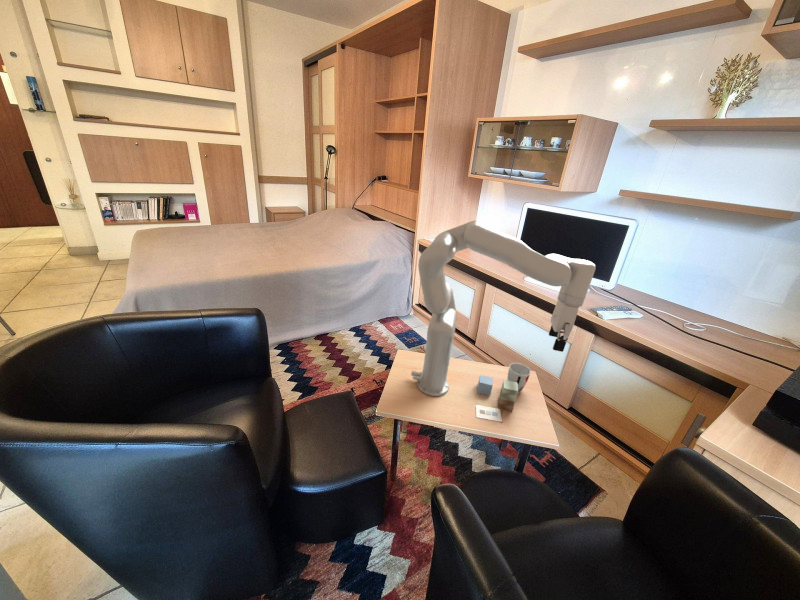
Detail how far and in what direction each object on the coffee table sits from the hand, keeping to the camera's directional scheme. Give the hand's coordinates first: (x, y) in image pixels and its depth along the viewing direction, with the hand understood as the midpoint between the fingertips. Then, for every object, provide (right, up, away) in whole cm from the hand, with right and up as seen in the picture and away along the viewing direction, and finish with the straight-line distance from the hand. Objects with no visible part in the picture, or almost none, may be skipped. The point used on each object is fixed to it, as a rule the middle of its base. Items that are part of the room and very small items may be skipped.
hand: (555, 343), depth 113 cm
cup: (-7, -22, +21) cm, 31 cm away
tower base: (-14, -25, +11) cm, 31 cm away
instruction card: (-21, -27, +7) cm, 35 cm away
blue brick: (-20, -21, +19) cm, 35 cm away
